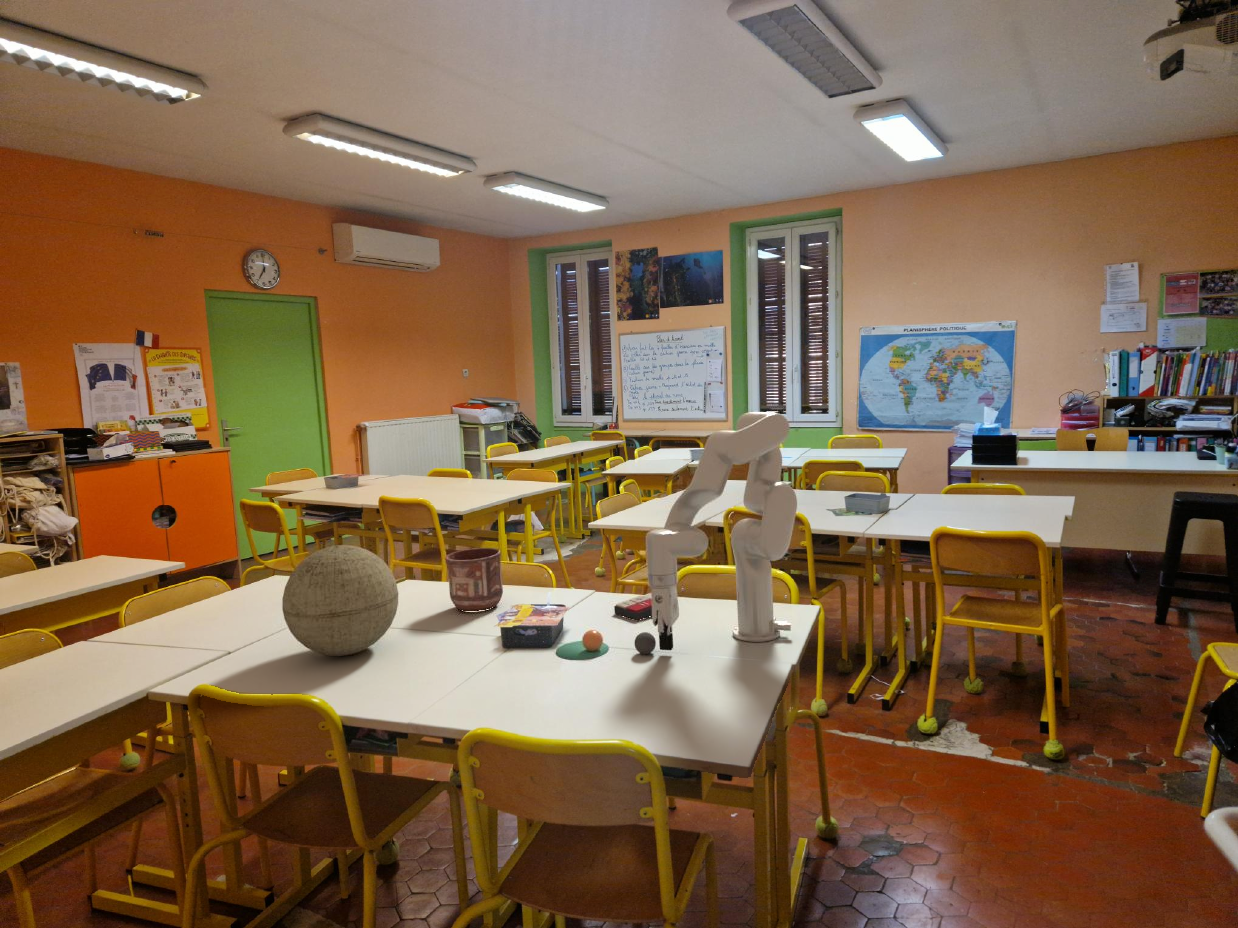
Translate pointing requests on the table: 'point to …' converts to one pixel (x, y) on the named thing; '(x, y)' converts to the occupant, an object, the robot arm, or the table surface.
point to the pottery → (475, 578)
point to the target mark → (579, 651)
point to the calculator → (635, 607)
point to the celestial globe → (340, 600)
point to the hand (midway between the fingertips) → (666, 648)
